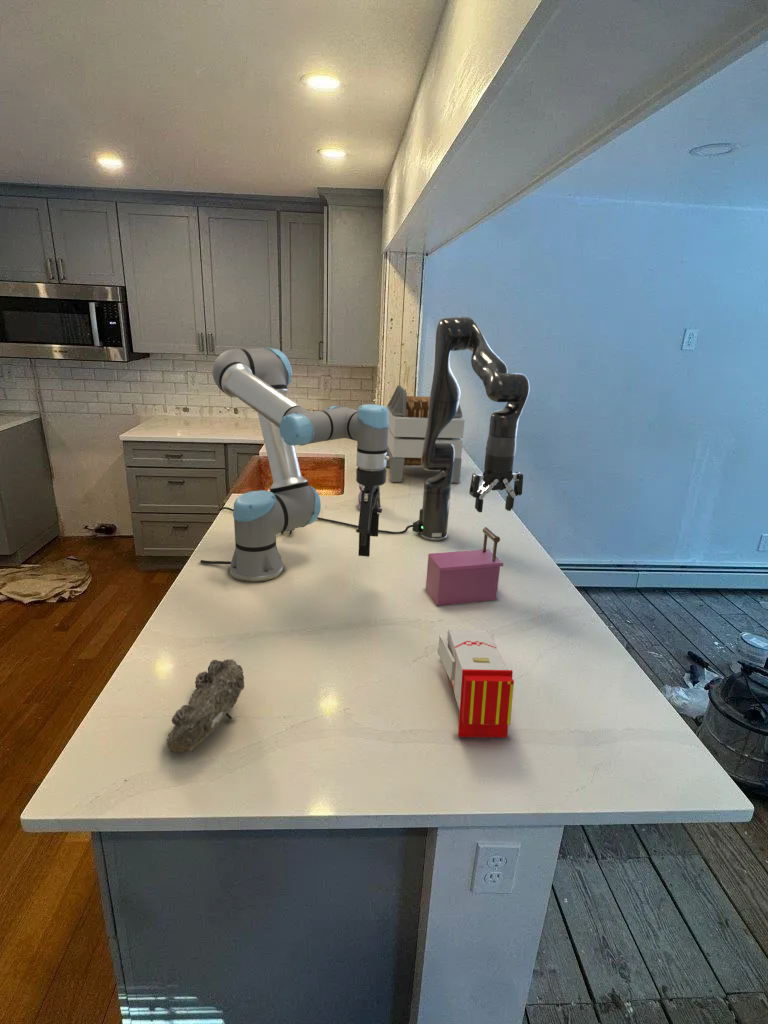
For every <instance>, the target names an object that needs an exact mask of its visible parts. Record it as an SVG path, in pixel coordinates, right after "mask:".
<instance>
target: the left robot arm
mask: <svg viewBox="0 0 768 1024" xmlns="http://www.w3.org/2000/svg"><path fill="white" fill-rule="evenodd" d="M292 376H293V370H292V366H291V363H290V360H289V358H288V357H287V355H286V354H285V352H282V351H281V350H279V349H277V348H270V347H260V348H259V347H257V348H231V349H228V350H225V351H224V352H222V353H220V354H219V356H217V358H216V359H215V360H214V363H213V366H212V378H213V382H214V383H215V385H216V386H217V388H218V389H219V390H220V391H221V392H223V393H224V394H225V395H227V396H228V397H230V398H235V399H236V398H237V399H239V400H240V401H242V402H243V403H244V404H245V405H247V406H249V408H251V409H253V410H254V411H255V412H257V416H258V420H259V426H260V429H261V434H262V438H263V442H264V443H263V444H264V447H265V452H266V455H267V460H268V464H269V469H270V473H271V474H270V475H271V478H272V484H271V486H270V487H269V490H265V489H263V490H262V489H261V490H251V491H248V492H245V493H243V494H240V495H238V497H237V498H236V499H235V501H234V502H233V509H234V512H233V511H232V512H233V513H232V517H233V527H234V528H233V529H234V545H235V548H234V551H233V555H232V557H231V561H228V560H227V561H226V560H204V559H200V564H205V565H229V573H230V575H231V577H233V579H235V580H238V581H241V582H246V583H260V582H266V581H270V580H273V579H276V578H277V577H279V576H280V575H282V574H283V571H284V562H283V558H282V556H281V554H280V552H279V549H278V547H277V535H278V534H281V533H282V532H284V533H285V532H290V531H289V530H292V529H295V530H296V529H300V528H305V527H306V526H309V525H312V524H313V523H315V522H316V521H317V520H318V519H317V518H318V517H319V516H320V514H321V508H322V502H321V496H320V494H319V492H318V491H317V489H316V488H314V487H313V486H311V485H309V480H308V479H306V478H305V477H303V476H302V473H301V467H300V463H299V460H298V453H297V449H296V446H307V445H311V444H317V443H321V442H329V441H335V440H340V439H349V440H352V441H355V442H357V443H356V444H357V446H356V465H355V466H357V468H356V476H355V481H356V483H358V485H359V484H361V485H364V486H365V488H364V490H362V494H361V506H360V510H359V516H358V524H357V526H358V528H355V532H356V533H358V556H359V557H368V558H369V557H370V556H371V555H370V551H371V537H376V538H379V532H378V530H379V523H380V522H379V521H380V514H382V512H383V509H382V508H381V490H380V486H383V485H385V484H386V482H387V469H386V467H387V466H386V463H387V460H388V459H389V456H386V454H387V443H388V428H389V413H388V409H387V406H385V405H381V404H374V403H373V404H372V403H369V404H361V405H359V407H358V409H353V408H350V407H347V406H343V405H340V406H339V405H332V406H329V407H328V408H327V409H324V410H316V411H311V410H308V409H306V408H305V407H303V406H302V405H300V404H298V403H297V402H296V401H294V400H293V399H291V398H289V397H288V396H286V395H287V394H288V392H289V389H288V386H290V385H291V382H292Z"/></svg>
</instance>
